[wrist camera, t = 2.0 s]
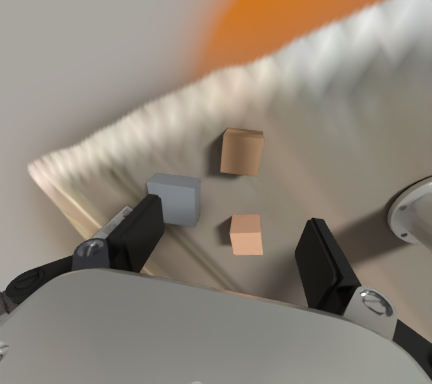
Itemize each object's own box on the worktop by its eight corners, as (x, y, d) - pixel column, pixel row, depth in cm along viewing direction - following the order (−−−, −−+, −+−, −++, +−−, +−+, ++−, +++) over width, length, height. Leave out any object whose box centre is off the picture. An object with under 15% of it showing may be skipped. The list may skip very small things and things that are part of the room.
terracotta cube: (259, 213, 33) (260, 232, 28) (261, 234, 35) (262, 254, 31) (232, 215, 34) (229, 233, 30) (236, 235, 36) (234, 254, 32)
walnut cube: (262, 131, 26) (264, 139, 21) (256, 163, 28) (257, 176, 24) (228, 127, 26) (223, 134, 22) (224, 160, 29) (220, 172, 24)
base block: (200, 177, 31) (194, 188, 28) (200, 214, 35) (194, 227, 32) (157, 172, 32) (146, 181, 29) (162, 208, 36) (152, 220, 33)
